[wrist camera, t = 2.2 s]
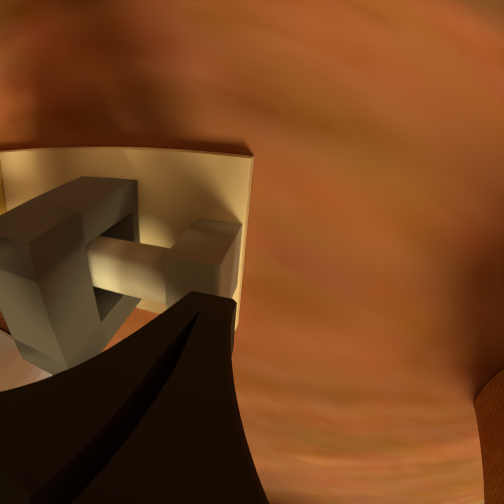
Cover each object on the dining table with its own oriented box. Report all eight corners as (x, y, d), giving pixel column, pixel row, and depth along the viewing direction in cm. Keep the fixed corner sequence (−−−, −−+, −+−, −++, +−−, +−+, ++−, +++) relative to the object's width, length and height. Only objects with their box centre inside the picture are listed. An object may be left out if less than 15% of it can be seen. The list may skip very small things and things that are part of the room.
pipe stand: (-11, 255, 17) (-46, 281, 14) (-28, 154, 14) (-72, 171, 10) (238, 322, 15) (217, 385, 11) (254, 156, 11) (227, 179, 8)
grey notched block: (95, 282, 14) (22, 359, 9) (82, 176, 12) (-25, 229, 7) (144, 295, 14) (76, 386, 9) (137, 180, 12) (28, 242, 6)
